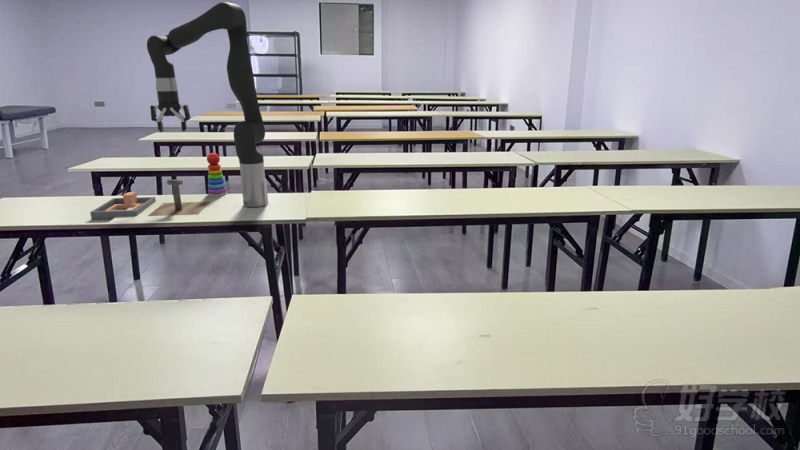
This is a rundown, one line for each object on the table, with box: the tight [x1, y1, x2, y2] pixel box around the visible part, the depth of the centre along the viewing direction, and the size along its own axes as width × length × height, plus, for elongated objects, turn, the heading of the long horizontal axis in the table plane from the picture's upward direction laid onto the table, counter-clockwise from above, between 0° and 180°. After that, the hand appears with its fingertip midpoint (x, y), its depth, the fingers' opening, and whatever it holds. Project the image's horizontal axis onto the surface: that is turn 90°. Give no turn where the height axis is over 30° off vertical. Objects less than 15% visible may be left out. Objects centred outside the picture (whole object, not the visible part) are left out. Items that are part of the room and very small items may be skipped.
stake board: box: [147, 178, 211, 217], centre depth 197 cm, size 18×18×13 cm
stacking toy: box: [206, 152, 228, 197], centre depth 218 cm, size 8×8×19 cm
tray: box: [89, 196, 157, 221], centre depth 198 cm, size 16×20×3 cm
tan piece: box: [105, 191, 143, 211], centre depth 199 cm, size 10×15×5 cm, turn 6°
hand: (172, 131), depth 208 cm, fingers open, 8 cm apart
